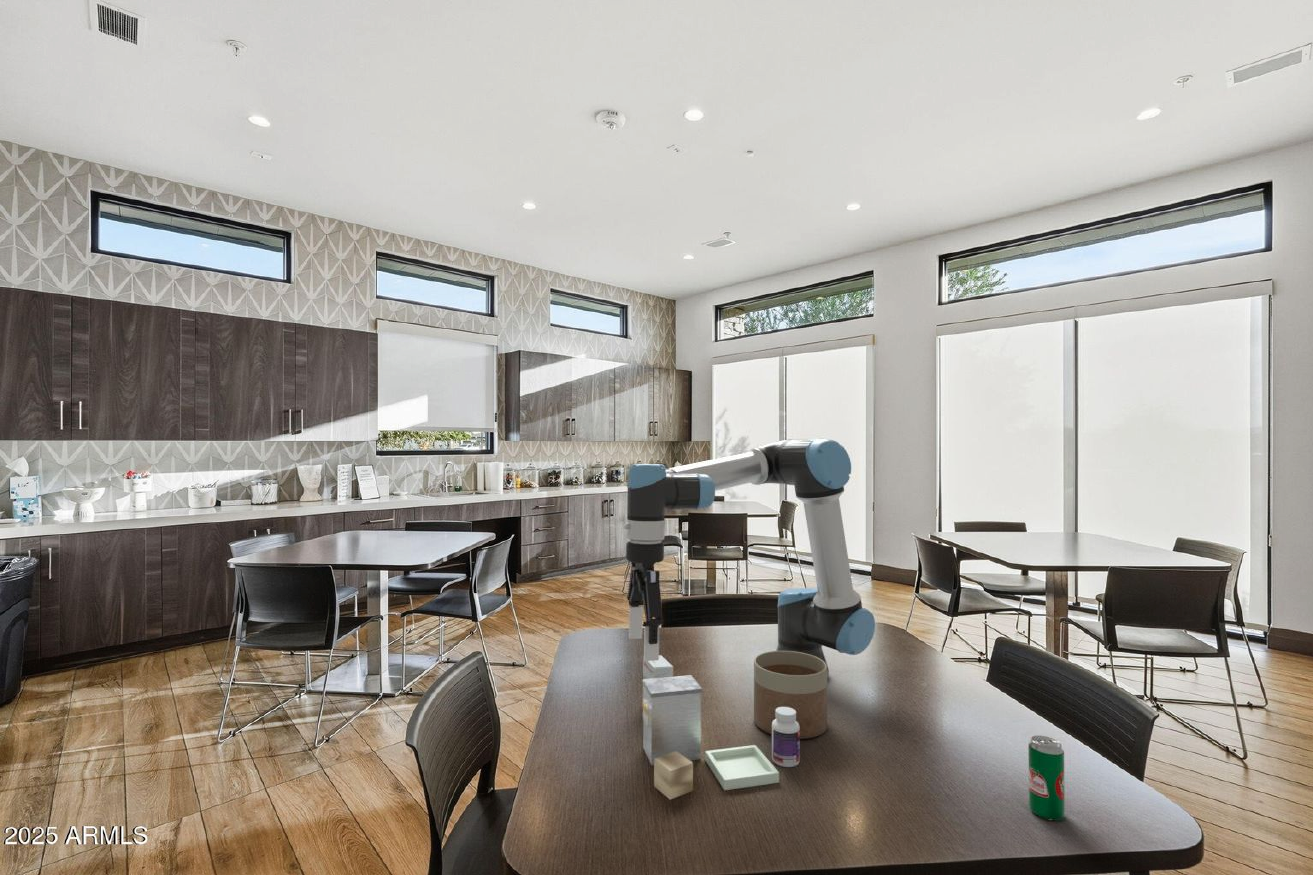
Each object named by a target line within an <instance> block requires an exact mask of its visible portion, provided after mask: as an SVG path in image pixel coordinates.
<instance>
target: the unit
mask: <svg viewBox="0 0 1313 875" xmlns="http://www.w3.org/2000/svg"><path fill="white" fill-rule="evenodd" d="M641 682H642V686H643V685H644V699H643V698H642V718H643V719H642V720H643V721H642V722H643V723H642V724H643V725H642V726H643V728H642V731H643V733H642V735H643V736H642V738H643V742H642V743H643V744H642V745H643V747H642V748H643V750H644V752H645V755H646V757H647V759H648V761H649V763H650V765H651V766H654V759H655V758H658V757H661V756H664V755H667V754H670V753H673V752H676V751H677V752H678V753H680V754H681V755H683V756H684V757H685V758H687V759H688V760H690V761H696V760H701V759H702V757H701V756H702V747H701V746H702V693H703V688H702V687H701V685H700V684H699V682H698V681H697V680H696V679H695V677H693V675H692V674H688V675H678V676H677V675H676V676H675V675H673V677H663V678H652V679H643V678H642V681H641Z"/></svg>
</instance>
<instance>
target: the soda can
mask: <svg viewBox="0 0 1313 875" xmlns="http://www.w3.org/2000/svg"><path fill="white" fill-rule="evenodd" d="M1027 746H1028V750H1027V751H1028V755H1027V756H1028V807H1029V808H1030V810H1031V812H1033V813H1034V814H1035V816H1037V815H1038V816H1037V817H1039V816H1040V817H1039V818H1041V817H1042V819H1044V818H1045V819H1044V820H1047V819H1052V820H1058V821H1061V820H1062V819H1063V818H1065V815H1066V813H1065V811H1066V804H1065V802H1066V801H1065V800H1066V798H1065V796H1066V795H1065V792H1066V791H1065V790H1066V789H1065V788H1066V787H1065V750H1064V749H1063V748H1062V743H1061V742H1060V741H1058V740H1057V739H1055V738H1052V737H1049V736H1046V735H1033V736H1031V737H1030V740H1029V742H1028V744H1027ZM1060 819H1061V820H1060Z"/></svg>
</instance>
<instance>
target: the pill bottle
mask: <svg viewBox="0 0 1313 875" xmlns="http://www.w3.org/2000/svg"><path fill="white" fill-rule="evenodd" d="M775 717H776V719H774V720H773V722H772V734H771V760H772V762H773V763H774V764H776V765H778V766H780V767H783V768H792V767H797V766H798V765H799V764H800V761H801V760H800V759H801V751H800V750H801V747H800V746H801V744H800V741H801V739H800V726H799V724H798V722H797V721H795V720H796V711H795V710H794V709H792V708H789V707H778V708H776V710H775Z"/></svg>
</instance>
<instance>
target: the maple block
mask: <svg viewBox="0 0 1313 875" xmlns="http://www.w3.org/2000/svg"><path fill="white" fill-rule="evenodd" d="M653 766H654V767H653V787H655V789H657V790H658V791H659V792H661V794H663V795H664V796H665V797H666V798H667V799H668V800H673V799H676V798H678V797H680V796H683V795H686V794H688V793H691V792H693V791H694V762H693V761H692V760H688V759H687V758H685V757H684V756H683V755H681V754H680V753H678V752H677V751H676V752H673V753H670V754H667V755H664V756H661V757H658V758H655V759H654V765H653Z"/></svg>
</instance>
